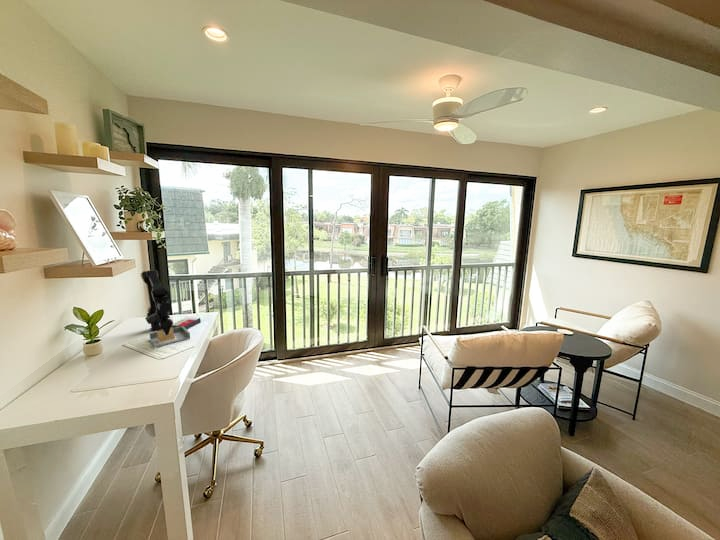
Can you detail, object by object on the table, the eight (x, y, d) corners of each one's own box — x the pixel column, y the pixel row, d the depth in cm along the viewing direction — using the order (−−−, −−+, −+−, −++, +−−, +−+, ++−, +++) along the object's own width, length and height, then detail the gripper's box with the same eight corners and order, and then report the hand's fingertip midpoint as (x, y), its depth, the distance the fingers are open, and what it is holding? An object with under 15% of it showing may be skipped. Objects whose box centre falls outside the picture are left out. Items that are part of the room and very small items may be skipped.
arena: (150, 339, 176) (149, 333, 176) (183, 331, 189) (183, 325, 188) (154, 348, 165) (153, 341, 164) (190, 338, 177) (189, 332, 176)
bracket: (173, 336, 178) (172, 327, 177) (175, 338, 175) (174, 329, 174) (158, 340, 173) (156, 330, 172) (159, 342, 169) (158, 333, 168)
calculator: (169, 324, 191) (186, 316, 206) (170, 331, 192) (187, 321, 207) (184, 325, 189) (200, 316, 204) (185, 331, 190) (201, 322, 205)
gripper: (142, 307, 173) (146, 332, 176) (147, 315, 160) (151, 342, 162) (164, 304, 180) (168, 327, 183) (171, 310, 167) (174, 336, 170)
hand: (165, 333), depth 175 cm, fingers open, 8 cm apart
